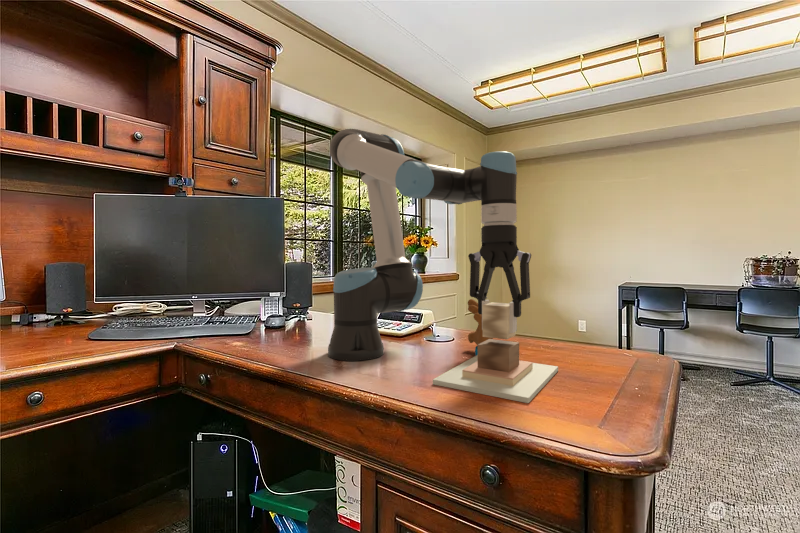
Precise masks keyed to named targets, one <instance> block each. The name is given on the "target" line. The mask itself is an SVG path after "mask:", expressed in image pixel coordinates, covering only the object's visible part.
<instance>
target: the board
mask: <svg viewBox="0 0 800 533" xmlns="http://www.w3.org/2000/svg"><path fill="white" fill-rule="evenodd" d="M558 372H559V366H557V365H550V364H545V363H537V362H532V361H527V360H526V361H525V360H520V359H519V365H518V366H517V367H515V368H514V369H513V370H511V371H510V372H503V371H497V370H491V369H484V368H478V355H474V356H473V357H471V358H469V359H467V360H466V361H464V362H462V363H461V364H458V365H457V366H455V367H453V368H451V369H450V370H448V371H446V372H444V373H442V374H440V375H439V376H436V377H435V378H433V379H432V385H435V386H440V387H445V388H449V389H455V390H460V391H466V392H471V393H474V394H475V393H476V394H480V395H486V396H491V397H496V398H501V399H506V400H511V401H514V402H520V403H525V404H529V403H530V402H531V401H532V400H533V399H534V398H535V397H536V396H537V394H538V393H539V392H540V391H541V390H542V389H543V388H544V387H545V386H546V385H547V384H548V382H550V380H551V379H553V377H554V376H555V375H556V374H557V373H558Z"/></svg>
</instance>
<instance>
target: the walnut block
mask: <svg viewBox="0 0 800 533" xmlns="http://www.w3.org/2000/svg"><path fill="white" fill-rule="evenodd" d="M477 346H478V368H484V369H491V370H497V371H503V372H510V371H511V370H513V369H514V368H515V367H517V366H518V365H519V360H520V342H519V341H510V340H504V339H496V338H493V339H488V340H486V341H484V342H482V343H480V344H478V345H477Z"/></svg>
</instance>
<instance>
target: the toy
mask: <svg viewBox="0 0 800 533" xmlns="http://www.w3.org/2000/svg"><path fill="white" fill-rule="evenodd" d="M467 305H468V308H467V310H468V311H469V312H470V313H472V315H473V319H474V320H475V322H477V327H476V329H475V331H472V332H469V333H468V334H467V339H468V342H469V343H470V344H472V343H475V345H476V346H475V347H474V354H475V355H474V356H476V355H478V344H480V343H482V342H484V341H486V340H488V339H494V338H489V337H483V330H482V314H479V313H478V301H476V300H474V299H473V298H471V299H470V298H469V299H468V300H467Z"/></svg>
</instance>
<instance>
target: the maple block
mask: <svg viewBox="0 0 800 533" xmlns="http://www.w3.org/2000/svg"><path fill="white" fill-rule="evenodd" d="M509 312H510V306H509V302H508V303H506V302H492V301H491V302H490V303H487V304H484V305H483V337H489V338H493V339H497V340H509V339H511V338H513V337H515V336H516V332H517V331H516V332H514V333H509Z"/></svg>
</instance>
